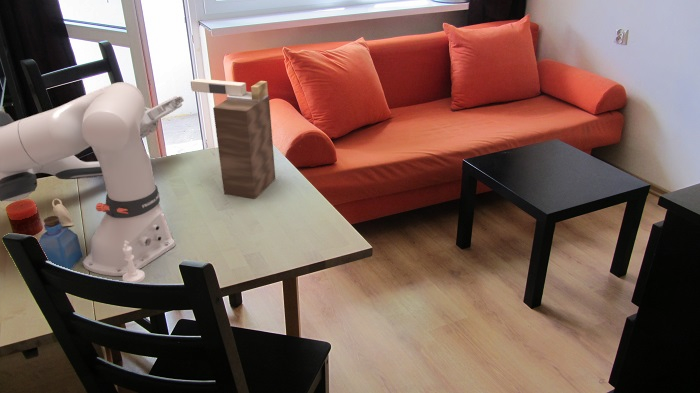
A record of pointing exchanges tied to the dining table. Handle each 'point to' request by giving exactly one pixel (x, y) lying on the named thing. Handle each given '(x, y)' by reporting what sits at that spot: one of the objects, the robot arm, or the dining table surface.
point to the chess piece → (131, 266)
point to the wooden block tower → (245, 142)
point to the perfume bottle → (60, 243)
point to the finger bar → (218, 87)
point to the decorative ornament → (62, 214)
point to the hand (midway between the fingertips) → (172, 103)
